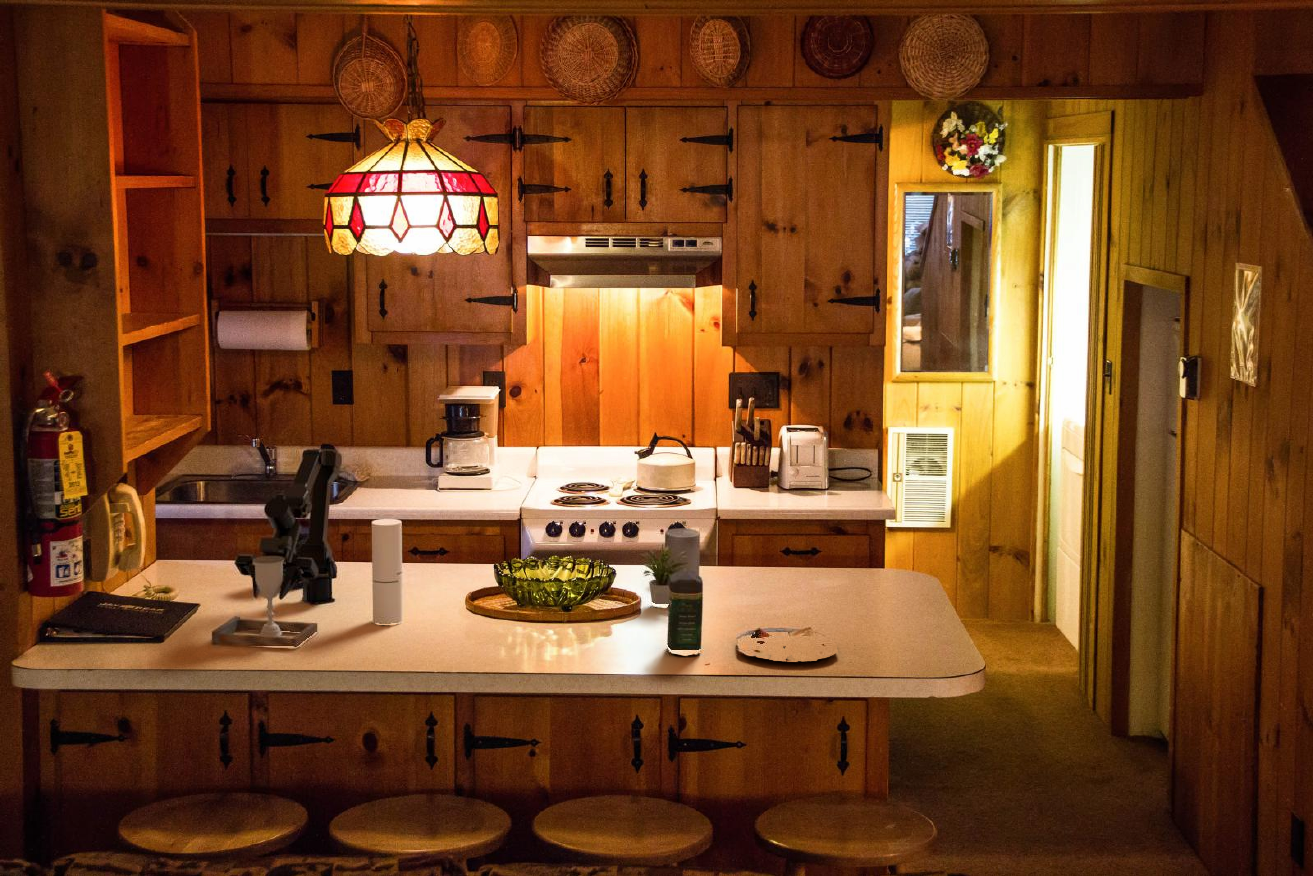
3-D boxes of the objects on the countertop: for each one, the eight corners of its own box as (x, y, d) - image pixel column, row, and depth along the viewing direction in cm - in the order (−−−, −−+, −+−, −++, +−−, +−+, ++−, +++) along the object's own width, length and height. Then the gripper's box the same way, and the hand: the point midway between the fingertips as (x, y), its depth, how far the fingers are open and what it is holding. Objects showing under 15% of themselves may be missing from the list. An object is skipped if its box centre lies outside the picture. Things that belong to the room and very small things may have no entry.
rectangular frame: (317, 633, 347) (317, 621, 346) (296, 649, 334) (296, 637, 333) (235, 628, 349) (235, 616, 349) (212, 644, 337) (211, 631, 336)
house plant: (657, 617, 365) (658, 554, 363) (621, 605, 375) (622, 544, 373) (698, 608, 374) (700, 546, 372) (663, 596, 385) (664, 536, 382)
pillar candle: (666, 575, 407) (667, 523, 405) (701, 577, 406) (702, 524, 403) (661, 584, 398) (662, 531, 395) (697, 586, 396) (698, 532, 394)
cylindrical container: (408, 620, 359) (407, 520, 355) (391, 627, 352) (390, 526, 349) (384, 616, 362) (383, 517, 358) (366, 623, 355) (365, 523, 351)
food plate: (735, 633, 353) (735, 619, 352) (831, 637, 352) (832, 623, 351) (737, 669, 328) (738, 654, 327) (841, 673, 327) (842, 658, 327)
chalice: (258, 640, 337) (256, 564, 334) (251, 632, 343) (249, 557, 340) (290, 636, 340) (288, 561, 337) (283, 628, 346) (280, 554, 343)
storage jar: (320, 584, 391) (319, 529, 389) (293, 591, 383) (292, 536, 380) (294, 578, 396) (293, 524, 394) (266, 585, 388) (265, 531, 386)
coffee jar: (702, 658, 334) (704, 579, 331) (668, 657, 333) (669, 578, 330) (699, 645, 343) (701, 568, 340) (666, 645, 343) (667, 568, 340)
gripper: (236, 520, 342) (217, 578, 333) (312, 524, 340) (296, 583, 331) (250, 545, 351) (233, 602, 342) (325, 549, 349) (309, 606, 340)
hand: (267, 598), depth 339 cm, fingers closed on chalice, 6 cm apart
